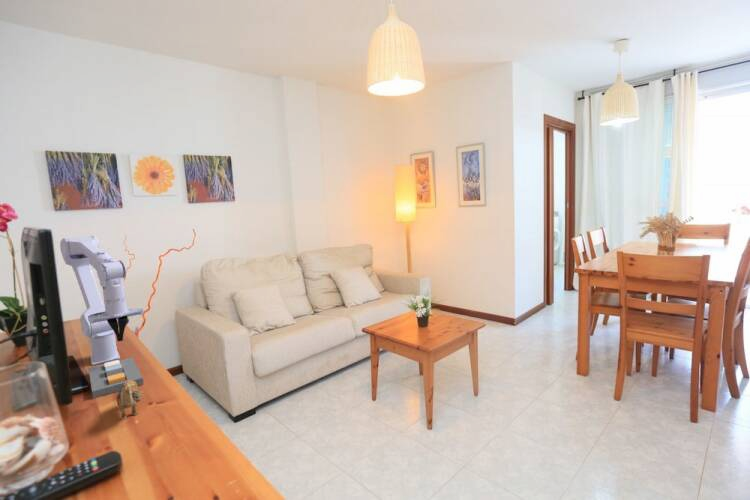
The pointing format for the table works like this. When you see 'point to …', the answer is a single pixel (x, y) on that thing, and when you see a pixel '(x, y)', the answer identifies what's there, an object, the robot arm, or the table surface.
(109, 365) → the cream button
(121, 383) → the button board
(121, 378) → the orange button
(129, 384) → the lion figurine
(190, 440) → the table surface
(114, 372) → the slate-blue button
